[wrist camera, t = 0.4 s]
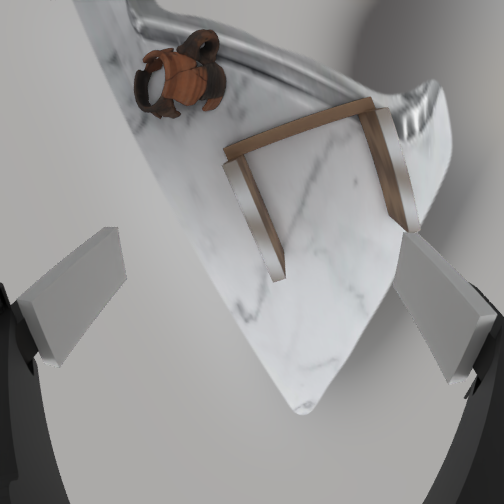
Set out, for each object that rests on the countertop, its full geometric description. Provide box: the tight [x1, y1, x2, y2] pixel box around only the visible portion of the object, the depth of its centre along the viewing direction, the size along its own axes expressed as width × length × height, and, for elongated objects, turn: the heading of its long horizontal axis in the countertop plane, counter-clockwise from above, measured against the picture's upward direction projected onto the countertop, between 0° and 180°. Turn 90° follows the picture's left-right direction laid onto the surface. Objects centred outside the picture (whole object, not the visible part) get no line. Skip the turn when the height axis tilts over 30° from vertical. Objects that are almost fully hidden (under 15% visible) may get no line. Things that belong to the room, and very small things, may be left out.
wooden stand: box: [222, 97, 421, 283], centre depth 34 cm, size 16×18×7 cm
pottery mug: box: [134, 29, 226, 119], centre depth 30 cm, size 12×9×8 cm
